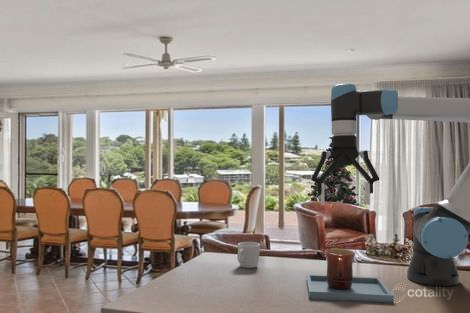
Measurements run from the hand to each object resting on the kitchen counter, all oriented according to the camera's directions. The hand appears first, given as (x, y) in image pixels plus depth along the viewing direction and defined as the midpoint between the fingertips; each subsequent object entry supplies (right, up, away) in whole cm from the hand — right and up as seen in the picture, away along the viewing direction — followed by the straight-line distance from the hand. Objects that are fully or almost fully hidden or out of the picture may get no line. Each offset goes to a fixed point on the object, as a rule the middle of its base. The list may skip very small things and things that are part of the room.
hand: (345, 204), depth 135 cm
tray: (-2, -24, -8) cm, 25 cm away
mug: (-4, -24, -8) cm, 25 cm away
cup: (-30, -24, +19) cm, 42 cm away
